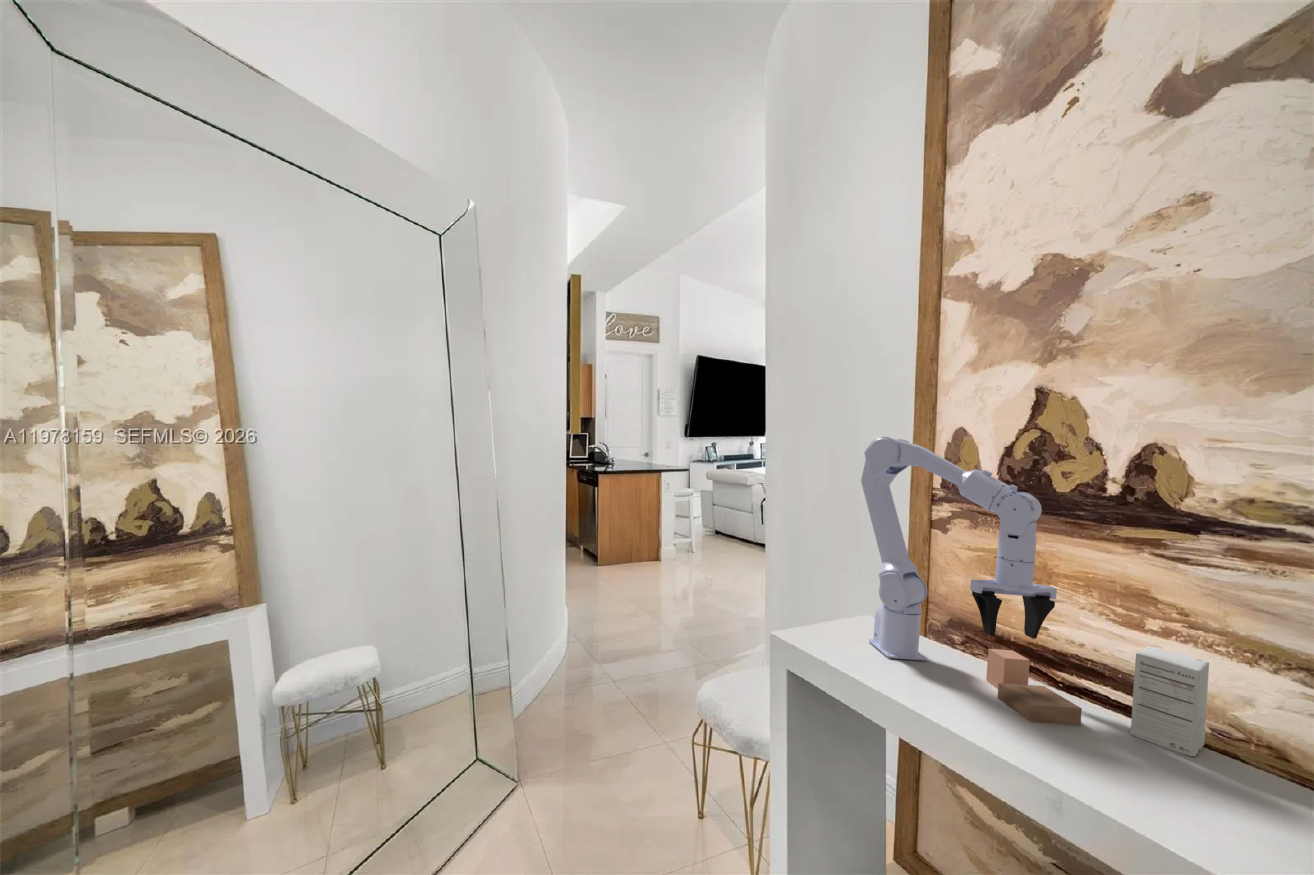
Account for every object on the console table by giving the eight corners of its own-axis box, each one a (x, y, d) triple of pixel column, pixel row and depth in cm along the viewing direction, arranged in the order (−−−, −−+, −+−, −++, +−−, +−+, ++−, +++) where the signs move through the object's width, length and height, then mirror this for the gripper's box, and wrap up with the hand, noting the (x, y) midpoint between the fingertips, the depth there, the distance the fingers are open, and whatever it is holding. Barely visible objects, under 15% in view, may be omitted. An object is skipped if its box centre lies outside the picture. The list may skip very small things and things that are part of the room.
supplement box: (1141, 723, 89) (1147, 644, 89) (1205, 746, 83) (1211, 661, 83) (1128, 734, 85) (1134, 652, 85) (1194, 759, 79) (1201, 670, 79)
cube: (986, 681, 101) (988, 648, 101) (1009, 683, 102) (1012, 650, 102) (1002, 692, 97) (1004, 658, 97) (1027, 694, 97) (1029, 660, 97)
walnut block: (997, 700, 94) (998, 683, 94) (1042, 703, 94) (1044, 686, 94) (1030, 724, 86) (1032, 705, 86) (1080, 727, 86) (1081, 708, 86)
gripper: (990, 561, 95) (984, 640, 95) (1072, 567, 96) (1066, 646, 95) (965, 553, 102) (960, 626, 102) (1042, 559, 103) (1036, 632, 102)
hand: (1009, 635), depth 99 cm, fingers open, 7 cm apart
